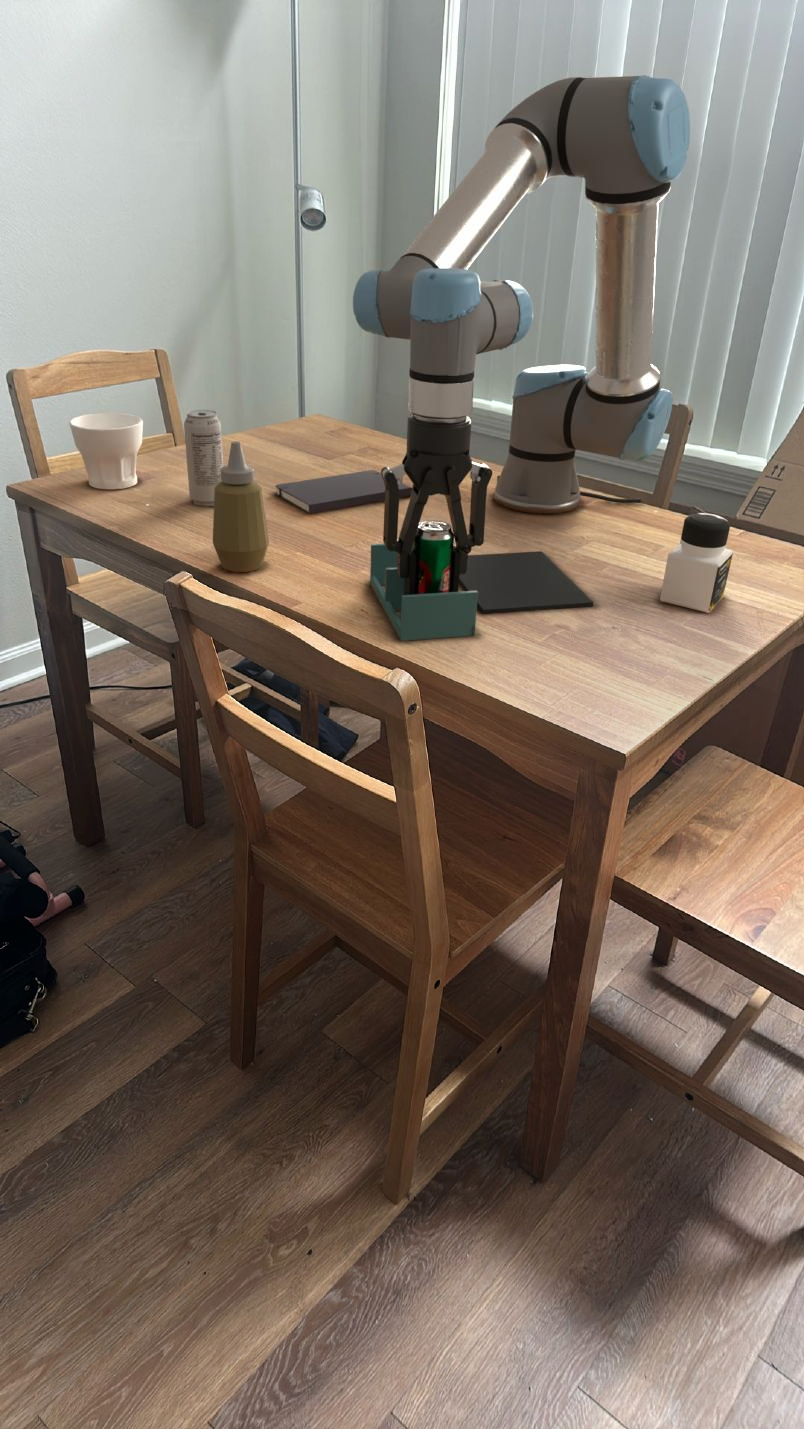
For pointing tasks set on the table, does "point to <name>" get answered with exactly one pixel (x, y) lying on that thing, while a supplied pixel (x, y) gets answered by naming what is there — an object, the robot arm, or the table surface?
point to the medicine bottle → (698, 564)
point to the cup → (108, 448)
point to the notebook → (337, 491)
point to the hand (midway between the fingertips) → (430, 598)
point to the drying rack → (420, 603)
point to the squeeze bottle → (239, 516)
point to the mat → (520, 583)
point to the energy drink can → (203, 455)
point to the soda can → (433, 557)
